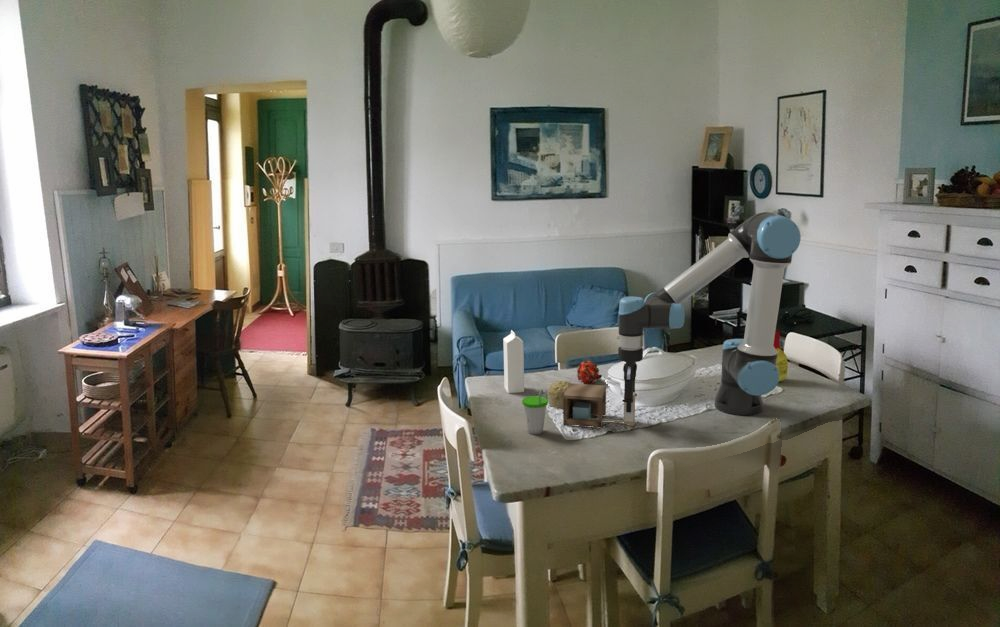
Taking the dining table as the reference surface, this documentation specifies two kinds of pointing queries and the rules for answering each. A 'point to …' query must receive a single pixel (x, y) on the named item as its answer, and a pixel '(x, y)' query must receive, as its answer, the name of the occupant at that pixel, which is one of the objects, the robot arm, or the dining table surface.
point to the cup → (535, 413)
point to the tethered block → (584, 412)
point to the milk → (513, 364)
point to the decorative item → (557, 393)
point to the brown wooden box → (584, 394)
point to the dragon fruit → (588, 372)
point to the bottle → (780, 357)
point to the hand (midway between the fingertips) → (629, 418)
